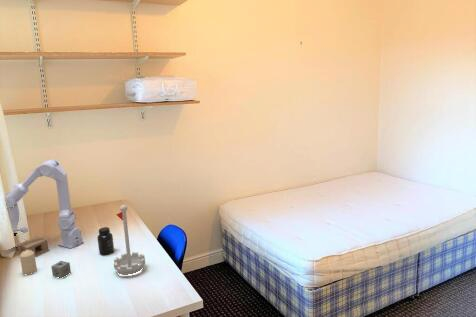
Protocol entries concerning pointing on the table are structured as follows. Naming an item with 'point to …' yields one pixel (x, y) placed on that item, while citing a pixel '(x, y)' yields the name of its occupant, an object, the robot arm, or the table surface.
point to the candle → (28, 262)
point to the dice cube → (61, 269)
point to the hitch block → (32, 243)
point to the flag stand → (128, 252)
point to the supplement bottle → (105, 241)
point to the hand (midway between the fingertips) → (17, 244)
